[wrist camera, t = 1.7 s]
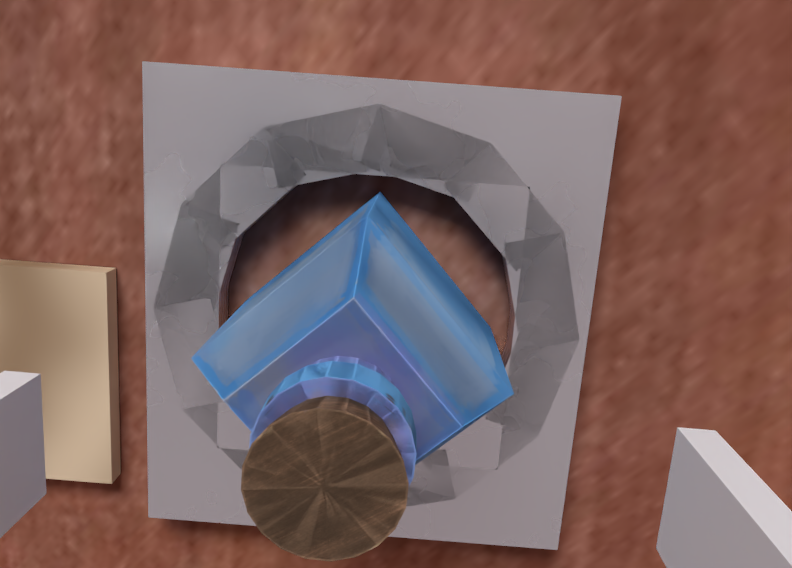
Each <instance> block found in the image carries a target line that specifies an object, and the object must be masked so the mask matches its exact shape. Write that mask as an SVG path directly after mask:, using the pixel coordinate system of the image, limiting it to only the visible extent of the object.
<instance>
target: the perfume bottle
mask: <svg viewBox="0 0 792 568" xmlns="http://www.w3.org/2000/svg"><path fill="white" fill-rule="evenodd" d="M191 359H192V360H193V362H194V363H195V364H196V366H197V367H198V368H199V370H200V371H201V372H202V374H203V375H204V376H205V377H206V379H207V380H208V381H209V383H210V384H211V385H212V387H213V388H214V389H215V391H216V392H217V393H218V394H219V396H220V397H221V398H222V400H223V401H224V402H225V403H226V404H227V405H228V406H229V408H230V409H231V410H232V411H233V412H234V413H235V414H236V415H237V416H238V417H239V419H240V420H241V421H242V422H243V423H244V424H245V425H246V426H247V427H248V428H249V430H250V431H251V434H250V446H249V451H248V454H247V456H246V458H245V460H244V463H243V465H242V478H241V492H242V495H243V499H244V502H245V506H246V509H247V513H248V514H249V516H250V517H251V519H252V520H253V522H254V523H255V524H256V526H257V527H258V529H259V530H260V532H261V533H262V534H263V535H264V536H266V537H267V538H268V539H269V540H271V541H272V542H273V543H274V544H276V545H277V546H278V547H280V548H281V549H283V550H285V551H288V552H290V553H293V554H295V555H298V556H300V557H302V558H305V559H313V560H322V561H336V560H342V559H348V558H354V557H357V556H359V555H361V554H363V553H365V552H367V551H369V550H371V549H373V548H375V547H377V546H379V545H380V544H381V543H382V542H383V541H384V540H385V539H386V538H387V537H388V536H389V535H390V534H391V533H392V532H393V531H394V530H395V529H396V527H397V525H398V523H399V521H400V519H401V517H402V515H403V513H404V511H405V509H406V504H407V496H408V488H409V485H410V483H411V481H412V479H413V477H414V470H415V465H416V464H418V463H419V462H420V461H422V460H423V459H425V458H426V457H427V456H429V455H430V454H431V453H433V452H434V451H436V450H437V449H438V448H440V447H441V446H443V445H444V444H445V443H447V442H448V441H450V440H451V439H452V438H454V437H455V436H456V435H458V434H459V433H461V432H462V431H463V430H465V429H466V428H468V427H469V426H470V425H472V424H473V423H474V422H476V421H477V420H479V419H480V418H481V417H483V416H484V415H486V414H487V413H488V412H490V411H491V410H492V409H494V408H495V407H497V406H498V405H499V404H501V403H502V402H504V401H505V400H506V399H508V398H509V397H511V396H512V395H513V394H514V392H513V389H512V386H511V383H510V381H509V378H508V375H507V372H506V370H505V367H504V364H503V361H502V358H501V356H500V353H499V350H498V347H497V345H496V342H495V339H494V336H493V334H492V331H491V328H490V326H489V325H488V324H487V323H486V321H485V320H484V319H483V318H482V317H481V315H480V314H479V313H478V312H477V310H476V309H475V308H474V307H473V305H472V304H471V303H470V302H469V300H468V299H467V298H466V297H465V295H464V294H463V293H462V292H461V291H460V289H459V288H458V287H457V286H456V284H455V283H454V282H453V281H452V279H451V278H450V277H449V276H448V274H447V273H446V272H445V271H444V270H443V268H442V267H441V266H440V265H439V263H438V262H437V261H436V260H435V258H434V257H433V256H432V255H431V253H430V252H429V251H428V250H427V248H426V247H425V246H424V245H423V244H422V242H421V241H420V240H419V239H418V237H417V236H416V235H415V234H414V232H413V231H412V230H411V229H410V227H409V226H408V225H407V224H406V222H405V221H404V220H403V219H402V218H401V216H400V215H399V214H398V213H397V211H396V210H395V209H394V208H393V206H392V205H391V204H390V203H389V201H388V200H387V199H386V198H385V197H384V195H383V194H382V193H381V192H379V193H378V194H376V195H375V196H374V197H373V198H371V199H370V200H369V201H368V202H367V203H365V204H364V205H363V206H362V207H360V208H359V209H358V210H357V211H355V212H354V213H353V214H352V215H351V216H349V217H348V218H347V219H346V220H344V221H343V222H342V223H341V224H340V225H338V226H337V227H336V228H335V229H333V230H332V231H331V232H330V233H328V234H327V235H326V236H325V237H324V238H322V239H321V240H320V241H319V242H317V243H316V244H315V245H314V246H312V247H311V248H310V249H309V250H308V251H306V252H305V253H304V254H303V255H301V256H300V257H299V258H298V259H297V260H295V261H294V262H293V263H292V264H290V265H289V266H288V267H287V268H285V269H284V270H283V271H282V272H281V273H279V274H278V275H277V276H276V277H274V278H273V279H272V280H271V281H269V282H268V283H267V284H266V285H265V286H263V287H262V288H261V289H260V290H258V291H257V292H256V293H255V294H254V295H252V296H251V297H250V298H249V299H247V300H246V301H245V302H244V303H243V304H242V305H241V306H240V307H239V308H238V309H237V311H236V312H235V313H234V314H233V315H232V316H231V317H230V318H229V319H228V320H227V321H226V322H225V323H224V324H223V325H222V326H221V327H220V328H219V329H218V330H217V331H216V332H215V334H214V335H213V336H212V337H211V338H210V339H209V340H208V341H207V342H206V343H205V344H204V345H203V346H202V347H201V348H200V349H199V350H198V351H197V352H196V353H195V354H194V356H193V357H192V358H191Z"/></svg>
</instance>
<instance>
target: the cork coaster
mask: <svg viewBox="0 0 792 568" xmlns="http://www.w3.org/2000/svg"><path fill="white" fill-rule="evenodd" d="M3 371H15V372H27V373H39V374H41V391H42V412H43V432H44V453H45V474H46V479H56V480H69V481H81V482H94V483H107V484H112V483H113V482H114V481H115V480H116V478H117V477H118V476H119V475H120V474H121V456H120V413H119V370H118V327H117V284H116V268H110V267H97V266H84V265H70V264H57V263H44V262H31V261H18V260H4V259H0V373H1V372H3Z"/></svg>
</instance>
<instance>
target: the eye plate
mask: <svg viewBox="0 0 792 568" xmlns="http://www.w3.org/2000/svg"><path fill="white" fill-rule="evenodd" d="M142 72H143V147H144V222H145V297H146V372H147V447H148V517H150V518H163V519H175V520H188V521H200V522H213V523H225V524H238V525H250V526H256V524H255V523H254V522H253V520H252V519H251V517H250V516H249V514H248V513H247V509H246V506H245V502H244V499H243V495H242V492H241V478H242V465H243V463H244V460H245V458H246V456H247V454H248V451H249V446H250V434H251V431H250V430H249V428H248V427H247V426H246V425H245V424H244V423H243V422H242V421H241V420H240V419H239V417H238V416H237V415H236V414H235V413H234V412H233V411H232V410H231V409H230V408H229V406H228V405H227V404H226V403H225V402H224V401H223V400H222V398H221V397H220V396H219V394H218V393H217V392H216V391H215V389H214V388H213V387H212V385H211V384H210V383H209V381H208V380H207V379H206V377H205V376H204V375H203V374H202V372H201V371H200V370H199V368H198V367H197V366H196V364H195V363H194V362H193V360H192V359H191V358H192V357H193V356H194V354H195V353H196V352H197V351H198V350H199V349H200V348H201V347H202V346H203V345H204V344H205V343H206V342H207V341H208V340H209V339H210V338H211V337H212V336H213V335H214V334H215V332H216V331H217V330H218V329H219V328H220V327H221V326H222V325H223V324H224V323H225V322H226V321H227V320H228V285H229V282H230V279H231V275H232V272H233V269H234V265H235V262H236V258H237V255H238V252H239V248H240V245H241V242H242V238H243V235H244V233H245V232H246V231H247V230H248V229H249V228H250V227H251V226H252V225H254V224H255V223H256V222H257V221H258V220H259V219H260V218H261V217H262V216H264V215H265V214H266V213H267V212H268V211H269V210H270V209H271V208H272V207H274V206H275V205H276V204H277V203H278V202H279V201H280V200H281V199H282V198H284V197H285V196H286V195H287V194H288V193H289V192H290V191H291V190H292V189H294V188H295V187H296V186H297V185H300V184H305V183H310V182H315V181H320V180H326V179H331V178H336V177H341V176H346V175H351V174H363V175H376V176H390V177H397V178H400V179H403V180H406V181H408V182H411V183H414V184H417V185H420V186H423V187H426V188H428V189H431V190H434V191H437V192H440V193H443V194H446V195H448V196H451V197H454V198H455V199H456V201H457V202H458V203H459V204H460V205H461V207H462V208H463V209H464V210H465V211H466V212H467V214H468V215H469V216H470V217H471V218H472V220H473V221H474V222H475V223H476V224H477V225H478V227H479V228H480V229H481V230H482V231H483V233H484V234H485V235H486V236H487V237H488V238H489V240H490V241H491V242H492V243H493V244H494V246H495V247H496V248H497V249H498V250H499V251H500V253H501V254H502V258H503V264H504V270H505V277H506V283H507V289H508V295H509V301H510V315H509V324H508V333H507V342H506V345H505V348H504V350H503V353H502V355H501V358H502V361H503V364H504V367H505V370H506V372H507V375H508V378H509V381H510V383H511V386H512V389H513V392H514V394H513V395H512V396H511V397H509V398H508V399H506V400H505V401H504V402H502V403H501V404H499V405H498V406H497V407H495V408H494V409H492V410H491V411H490V412H488V413H487V414H486V415H484V416H483V417H481V418H480V419H479V420H477V421H476V422H474V423H473V424H472V425H470V426H469V427H468V428H466V429H465V430H463V431H462V432H461V433H459V434H458V435H456V436H455V437H454V438H452V439H451V440H450V441H448V442H447V443H445V444H444V445H443V446H441V447H440V448H438V449H437V450H436V451H434V452H433V453H431V454H430V455H429V456H427V457H426V458H425V459H423V460H422V461H420V462H419V463H418V464H416V465H415V470H414V477H413V479H412V481H411V483H410V485H409V488H408V496H407V504H406V509H405V511H404V513H403V515H402V517H401V519H400V521H399V523H398V525H397V527H396V529H395V530H394V531H393V532H392V533H391V534H390V535H389V536H388V537H401V538H413V539H426V540H438V541H451V542H463V543H476V544H488V545H501V546H513V547H526V548H539V549H551V550H558V543H559V536H560V529H561V522H562V515H563V508H564V501H565V493H566V486H567V479H568V472H569V465H570V458H571V451H572V444H573V437H574V430H575V423H576V416H577V409H578V401H579V394H580V387H581V380H582V373H583V366H584V359H585V352H586V345H587V338H588V331H589V324H590V317H591V309H592V302H593V295H594V288H595V281H596V274H597V267H598V260H599V253H600V246H601V239H602V232H603V225H604V217H605V210H606V203H607V196H608V189H609V182H610V175H611V168H612V161H613V154H614V147H615V140H616V133H617V125H618V118H619V111H620V104H621V97H622V96H616V95H602V94H588V93H574V92H560V91H546V90H532V89H519V88H505V87H491V86H477V85H463V84H449V83H435V82H422V81H408V80H394V79H380V78H366V77H352V76H338V75H325V74H311V73H297V72H283V71H269V70H255V69H241V68H228V67H214V66H200V65H186V64H172V63H158V62H144V61H142Z"/></svg>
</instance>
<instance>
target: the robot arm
mask: <svg viewBox="0 0 792 568" xmlns="http://www.w3.org/2000/svg"><path fill="white" fill-rule="evenodd" d="M45 494H46V474H45V453H44V432H43V412H42V391H41V374H39V373H27V372H15V371H3V372H1V373H0V538H1V537H2V536H3V535H4V534H5V533H6V532H7V531H8V530H9V529H10V528H11V527H12V526H13V525H14V524H15V523H16V522H17V521H18V520H19V519H20V518H22V517H23V516H24V515H25V514H26V513H27V512H28V511H29V510H30V509H31V508H32V507H33V506H34V505H35V504H36V503H37V502H38V501H39V500H40V499H41V498H42V497H43V496H44V495H45ZM656 549H657V551H658V552H659V554H660V556H661V558H662V560H663V562H664V563H665V565H666V567H667V568H792V511H791V510H790V509H789V508H788V507H787V506H786V505H785V504H784V503H783V502H782V501H781V500H780V498H779V497H778V496H777V495H776V494H775V493H774V492H773V491H772V490H771V489H770V488H769V487H768V486H767V485H766V484H765V483H764V481H763V480H762V479H761V478H760V477H759V476H758V475H757V474H756V473H755V472H754V471H753V470H752V469H751V468H750V467H749V466H748V465H747V463H746V462H745V461H744V460H743V459H742V458H741V457H740V456H739V455H738V454H737V453H736V452H735V451H734V450H733V449H732V448H731V446H730V445H729V444H728V443H727V442H726V441H725V440H724V439H723V438H722V437H721V436H720V435H719V434H718V433H717V432H716V431H714V430H702V429H690V428H678V427H677V432H676V438H675V444H674V449H673V455H672V461H671V466H670V472H669V478H668V483H667V489H666V495H665V500H664V506H663V512H662V517H661V523H660V529H659V534H658V540H657V546H656Z"/></svg>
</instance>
